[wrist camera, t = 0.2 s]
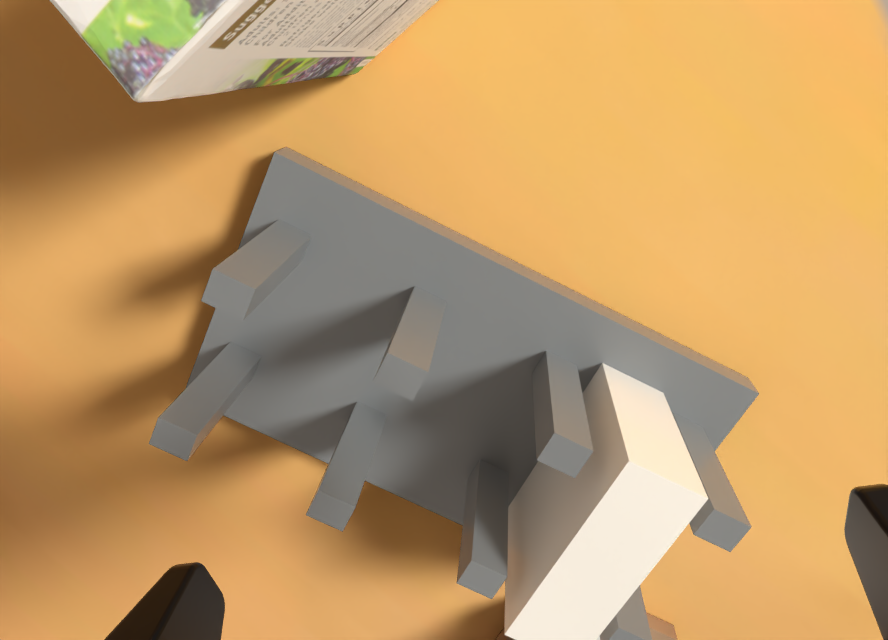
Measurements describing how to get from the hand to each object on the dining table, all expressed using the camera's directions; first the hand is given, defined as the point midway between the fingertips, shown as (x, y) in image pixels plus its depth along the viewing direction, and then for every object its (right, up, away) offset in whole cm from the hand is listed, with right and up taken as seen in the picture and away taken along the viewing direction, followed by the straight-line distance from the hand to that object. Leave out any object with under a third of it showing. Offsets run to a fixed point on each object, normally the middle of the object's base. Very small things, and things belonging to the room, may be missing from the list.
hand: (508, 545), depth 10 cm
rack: (0, +1, +16) cm, 16 cm away
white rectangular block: (+4, -2, +15) cm, 16 cm away
